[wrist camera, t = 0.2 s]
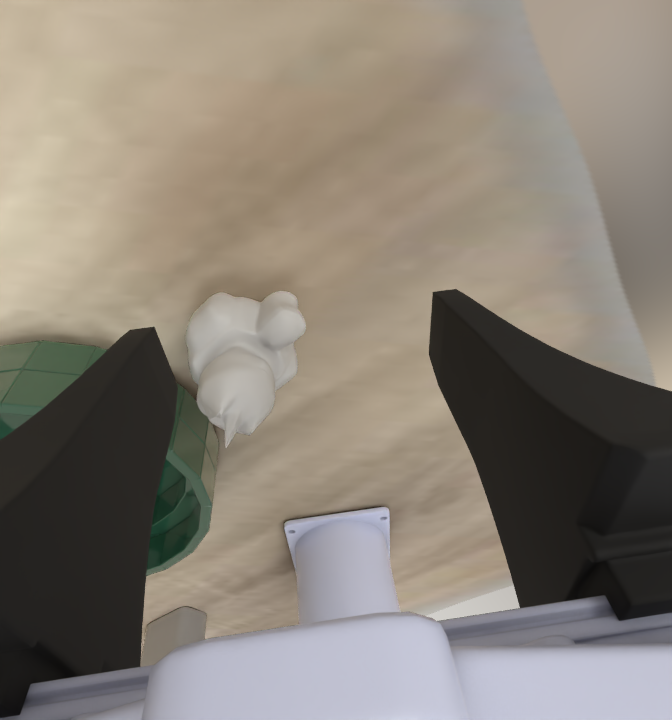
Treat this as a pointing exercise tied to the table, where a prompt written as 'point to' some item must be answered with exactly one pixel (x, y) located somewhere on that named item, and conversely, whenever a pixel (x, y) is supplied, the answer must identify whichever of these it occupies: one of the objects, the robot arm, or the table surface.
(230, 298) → the grey lumpy piece
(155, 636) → the power adapter
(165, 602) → the table surface
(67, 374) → the bowl
